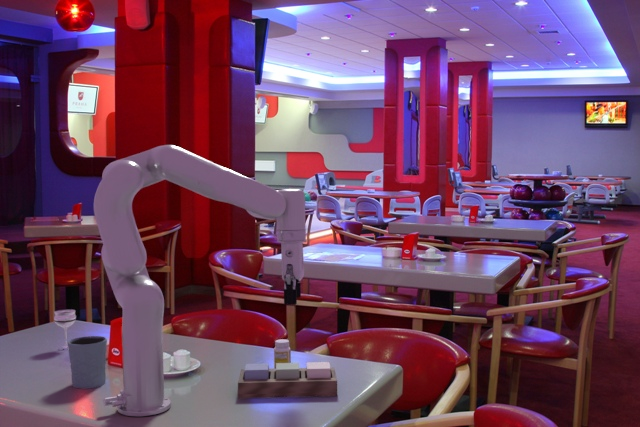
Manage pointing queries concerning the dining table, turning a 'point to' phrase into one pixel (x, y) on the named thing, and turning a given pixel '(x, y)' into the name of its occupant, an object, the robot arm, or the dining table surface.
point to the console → (287, 386)
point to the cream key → (318, 370)
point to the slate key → (257, 371)
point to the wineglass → (65, 320)
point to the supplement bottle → (282, 352)
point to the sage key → (287, 370)
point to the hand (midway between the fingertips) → (292, 301)
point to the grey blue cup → (88, 361)
